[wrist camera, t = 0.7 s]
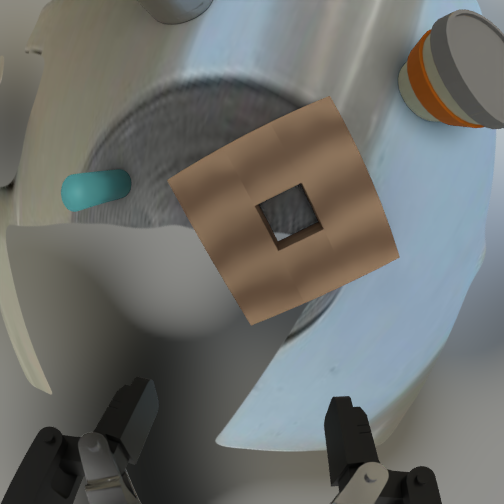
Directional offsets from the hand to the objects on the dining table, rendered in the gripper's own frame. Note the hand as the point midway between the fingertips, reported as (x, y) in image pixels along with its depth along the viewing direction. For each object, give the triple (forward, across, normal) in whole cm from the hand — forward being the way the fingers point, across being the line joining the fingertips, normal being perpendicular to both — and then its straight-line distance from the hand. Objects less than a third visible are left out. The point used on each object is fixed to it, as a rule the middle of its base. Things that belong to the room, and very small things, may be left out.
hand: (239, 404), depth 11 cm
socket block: (+25, -3, -4) cm, 26 cm away
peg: (+26, +20, -7) cm, 33 cm away
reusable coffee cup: (+26, -21, -22) cm, 40 cm away
